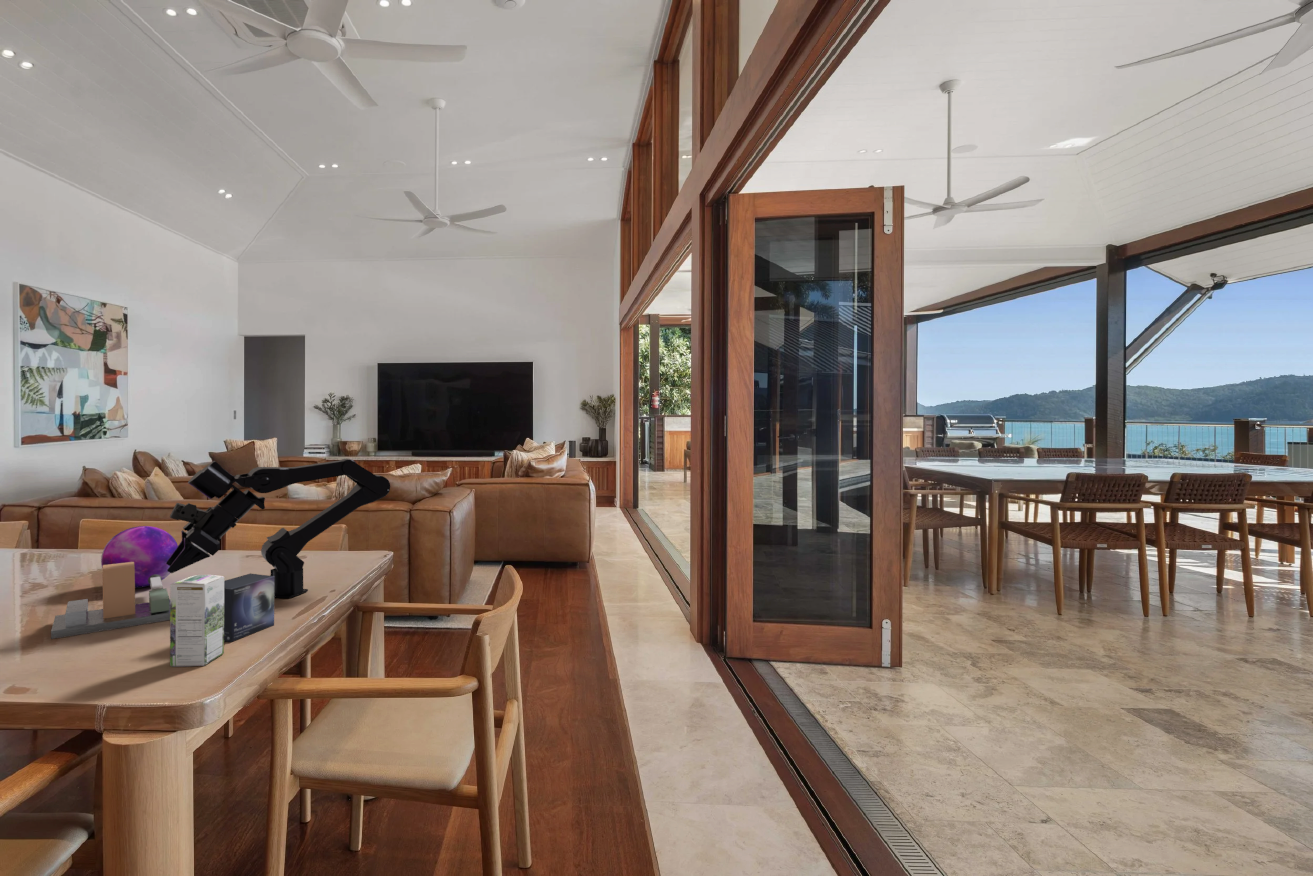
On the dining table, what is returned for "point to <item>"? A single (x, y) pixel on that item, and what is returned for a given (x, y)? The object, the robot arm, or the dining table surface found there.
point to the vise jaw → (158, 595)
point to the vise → (100, 619)
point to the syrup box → (196, 620)
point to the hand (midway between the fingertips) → (168, 568)
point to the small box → (248, 605)
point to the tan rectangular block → (118, 589)
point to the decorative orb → (141, 552)
